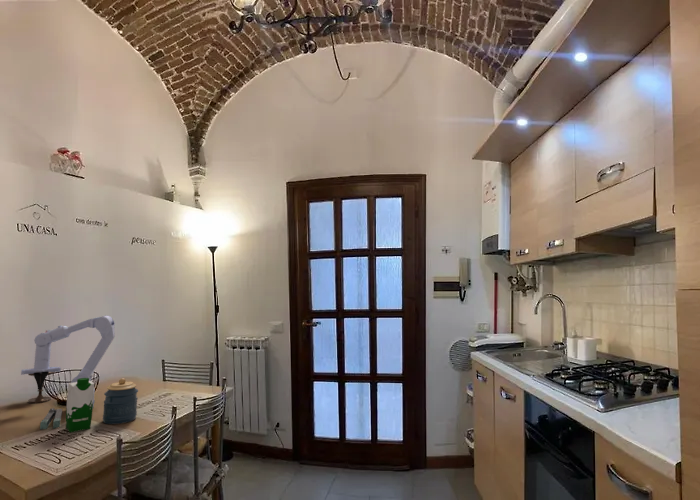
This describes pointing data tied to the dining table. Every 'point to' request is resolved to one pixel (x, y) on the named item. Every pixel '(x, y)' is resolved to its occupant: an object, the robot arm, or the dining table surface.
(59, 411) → the tongs fixed
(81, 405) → the milk carton
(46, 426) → the tong leg
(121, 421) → the canister
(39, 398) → the candlestick
